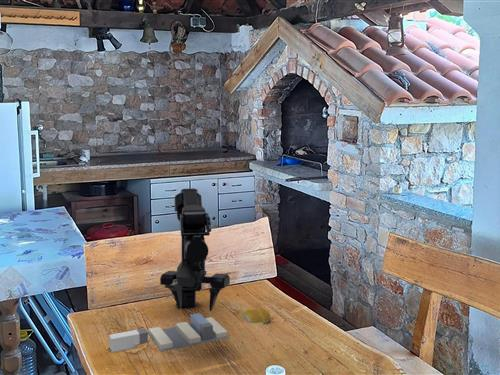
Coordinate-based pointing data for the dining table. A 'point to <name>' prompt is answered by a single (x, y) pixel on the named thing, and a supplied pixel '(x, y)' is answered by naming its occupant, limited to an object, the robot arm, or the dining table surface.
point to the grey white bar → (127, 340)
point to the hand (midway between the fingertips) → (195, 309)
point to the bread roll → (256, 316)
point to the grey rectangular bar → (201, 326)
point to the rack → (183, 335)
